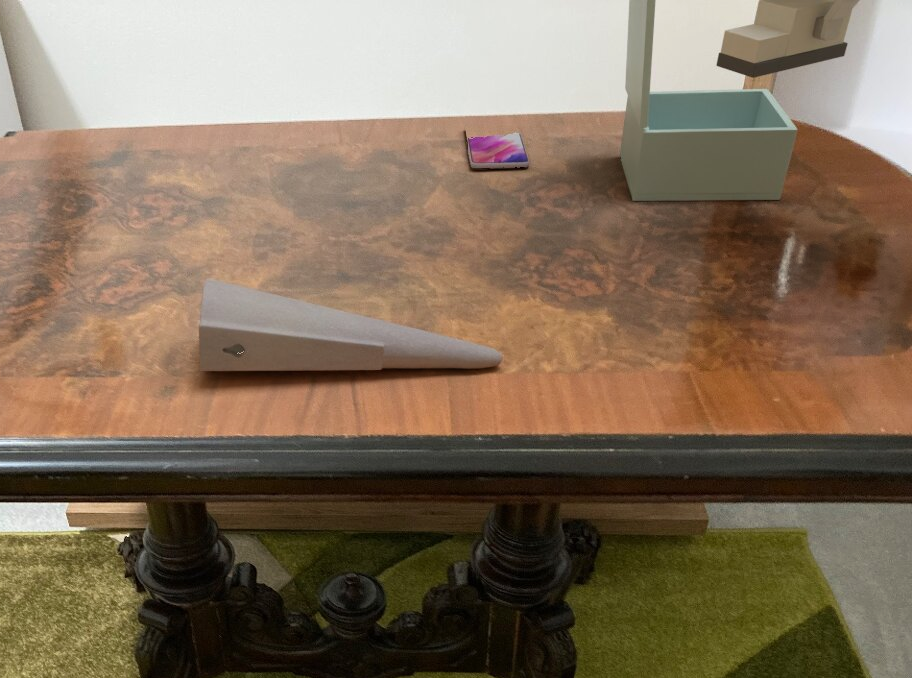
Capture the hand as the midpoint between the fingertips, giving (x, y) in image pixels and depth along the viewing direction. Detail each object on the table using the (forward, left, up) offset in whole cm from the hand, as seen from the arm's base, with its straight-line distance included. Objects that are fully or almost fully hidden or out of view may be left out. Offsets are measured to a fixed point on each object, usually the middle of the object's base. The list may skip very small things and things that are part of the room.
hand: (798, 31), depth 85 cm
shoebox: (+3, -13, -19) cm, 24 cm away
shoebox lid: (+12, -13, -3) cm, 18 cm away
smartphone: (+26, -23, -19) cm, 40 cm away
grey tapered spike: (+40, +26, -19) cm, 51 cm away
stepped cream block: (+1, +1, -2) cm, 3 cm away
